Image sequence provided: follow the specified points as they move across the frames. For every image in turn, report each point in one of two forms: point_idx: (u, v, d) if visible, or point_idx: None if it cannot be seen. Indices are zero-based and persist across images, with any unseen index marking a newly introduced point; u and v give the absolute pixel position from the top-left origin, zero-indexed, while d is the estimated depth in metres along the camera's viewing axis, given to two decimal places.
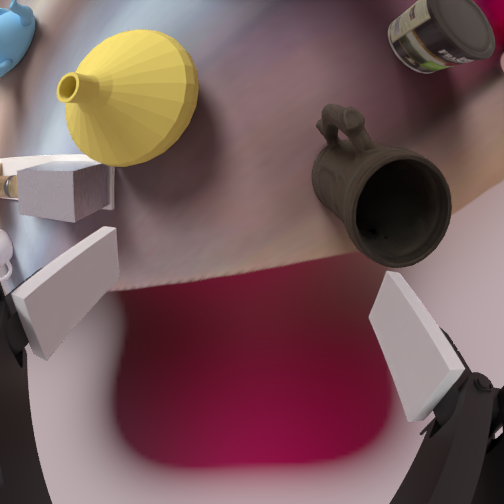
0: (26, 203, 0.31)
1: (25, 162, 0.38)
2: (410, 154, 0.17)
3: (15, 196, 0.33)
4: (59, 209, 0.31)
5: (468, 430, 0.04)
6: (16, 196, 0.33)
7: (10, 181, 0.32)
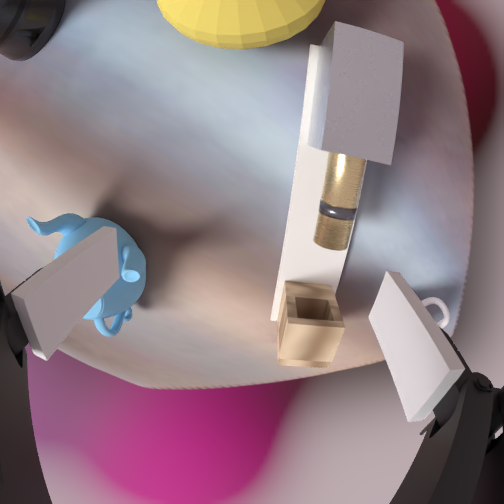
0: (376, 137, 0.22)
1: (297, 216, 0.36)
2: None
3: (357, 191, 0.26)
4: (388, 61, 0.19)
5: (468, 430, 0.04)
6: (357, 187, 0.26)
7: (330, 200, 0.27)
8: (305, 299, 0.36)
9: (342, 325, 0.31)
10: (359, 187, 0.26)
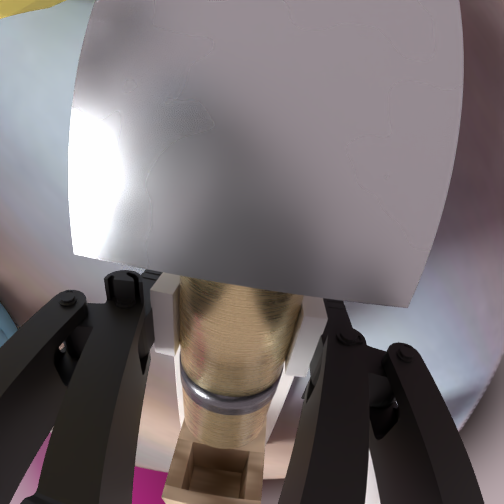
0: (352, 172, 0.04)
1: None
2: None
3: (272, 354, 0.08)
4: None
5: (338, 392, 0.06)
6: (273, 346, 0.08)
7: (189, 368, 0.09)
8: None
9: None
10: (281, 341, 0.08)
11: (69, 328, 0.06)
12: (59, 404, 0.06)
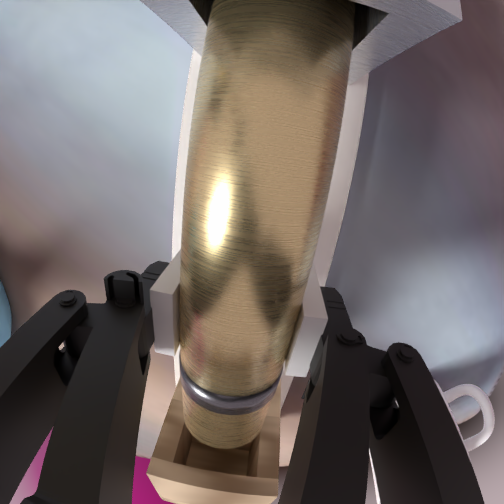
0: None
1: None
2: None
3: (272, 354, 0.08)
4: None
5: (338, 392, 0.06)
6: (273, 346, 0.08)
7: (189, 368, 0.09)
8: None
9: (272, 490, 0.10)
10: (281, 341, 0.08)
11: (69, 328, 0.06)
12: (59, 404, 0.06)
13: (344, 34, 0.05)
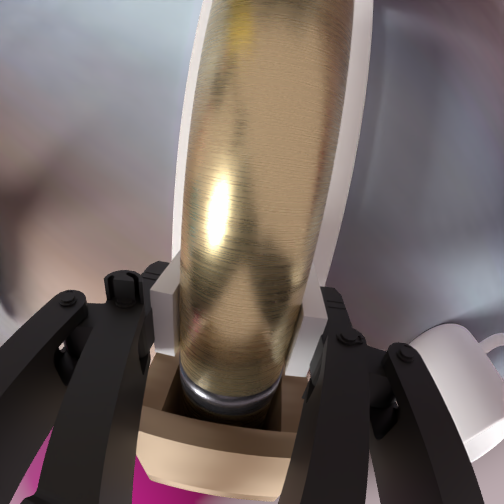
0: None
1: None
2: None
3: (272, 354, 0.08)
4: None
5: (338, 392, 0.06)
6: (273, 346, 0.08)
7: (189, 368, 0.09)
8: None
9: None
10: (281, 341, 0.08)
11: (69, 328, 0.06)
12: (59, 404, 0.06)
13: (343, 34, 0.05)
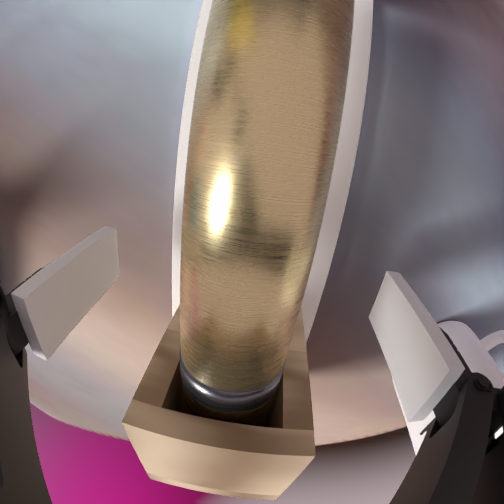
0: None
1: None
2: None
3: (274, 348, 0.08)
4: None
5: (468, 430, 0.04)
6: (275, 339, 0.08)
7: (190, 363, 0.09)
8: None
9: (307, 446, 0.08)
10: (283, 335, 0.08)
11: None
12: None
13: (344, 26, 0.05)
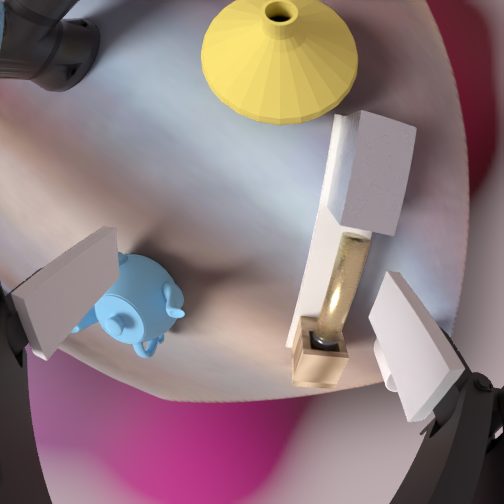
0: (385, 214, 0.29)
1: (314, 264, 0.43)
2: None
3: (340, 330, 0.38)
4: (401, 148, 0.26)
5: (468, 430, 0.04)
6: (340, 328, 0.37)
7: (320, 335, 0.38)
8: None
9: (346, 356, 0.37)
10: (342, 327, 0.38)
11: None
12: None
13: (360, 274, 0.34)
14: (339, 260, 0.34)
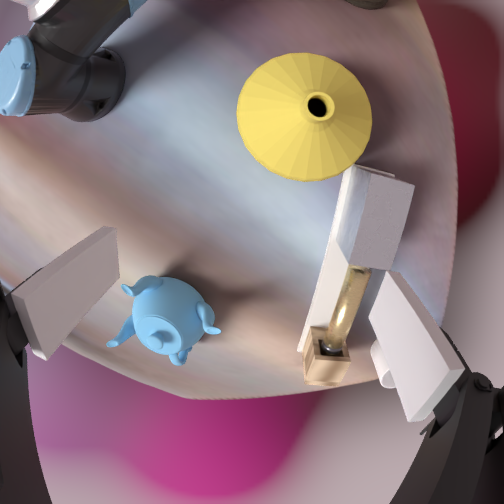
0: (383, 255, 0.37)
1: (323, 286, 0.51)
2: None
3: (344, 340, 0.46)
4: (400, 203, 0.34)
5: (468, 430, 0.04)
6: (344, 338, 0.46)
7: (328, 344, 0.47)
8: None
9: (349, 360, 0.46)
10: (345, 337, 0.46)
11: None
12: None
13: (362, 297, 0.43)
14: (345, 287, 0.43)
